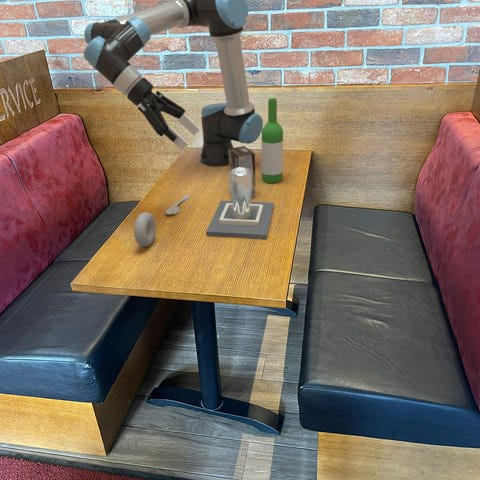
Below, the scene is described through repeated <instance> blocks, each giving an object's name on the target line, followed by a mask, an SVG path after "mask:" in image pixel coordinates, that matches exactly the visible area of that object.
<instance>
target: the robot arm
mask: <svg viewBox="0 0 480 480" xmlns="http://www.w3.org/2000/svg"><path fill="white" fill-rule="evenodd" d="M248 15H249V8H248V3H247V0H170V1H169V2H167V3H164V4H163V3H162V4H160V5H156V6H153V7H150V8H147V9H143V10H139V11H136V12H132V13H129V14H126V15H123V16H120V17H119V16H118V17H116V18H112V19H110V20H106V21H103V22H99V21H96V22H91V23H89V24H88V25H86V26H85V29H84V32H83V33H84V35H83V36H84V40H85V43H86V44H87V45H86V47H85V48H84V50H83V57H84V59H85V61H87V62H88V64H89V65H90V66H91V67H92V68H93V69H94V70H95V71H97V72H98V73H99V74H100V75H101V76H103V77H104V78H105V79H106V80H107V81H108V82H109V83H110V84H111V85H113V87H115V88H116V90H117V92H120V93H121V94H123V95H124V96H126V98H127V100H129V102H131V103H132V104H133V105H134V106H138V107H137V110H138V111H139V112H140V113H141V114H142V115H143V116H144V117H145V118H146V120H147V122H148V123H149V125H150V126H151V127H152V129H153V130H154V131H155V134H157V135H158V136H160V137H163V136H165V137H167V139H168V140H170V141H171V142H172V143H173V144H174V145H175V146H176V147H177V148H179V150H180V151H183V150H184V149H185V148H186V147H187V146H188V145H189V142H188V141H187V140H186V139H185V138H184V137H183V136H181V135H180V134H179V133H178V132H177V131H176V130H175V129H174V128H173V127H169V125H168V124H167V122H166V120H165V118H164V115H163V114H162V112H163V113H164V114H167V115H168V116H171V117H174V118H176V119H178V120H177V121H178V122H179V123H180V124H181V125H182V126H183V127H184V128H185V129H187V131H188V132H190V134H192V135H193V136H195V135H196V134H197V133H199V131H200V130H202V140H203V141H202V142H203V143H202V147H201V152H200V163H202V164H203V165H206V166H210V167H211V166H212V167H220V166H221V167H222V166H227V165H228V166H229V149H231V148H235V147H234V146H233V142H238V143H241V144H250V145H251V144H252V143H254V142H256V141H257V140H258V139H259V137H260V136H261V134H262V129H263V127H264V120H263V118H262V115H260V114H259V113H257V112H256V109H255V104H254V103H252V102H251V101H250V95H249V89H248V82H247V76H246V69H245V63H244V54H243V48H242V42H241V41H242V40H241V34H242V33H243V31H244V25H245V24H246V23H247V21H248V18H247V17H248ZM187 27H205V28H208V31H209V36H210V38H212V39H213V40H214V42H215V46H216V52H217V57H218V63H219V68H220V74H221V79H222V84H223V91H224V95H225V101H226V102H219V103H214V104H213V103H212V104H207V105H205V106H203V107H202V109H201V111H200V112H201V117H200V118H201V128H202V129H201V128H200V127H199V126H198V125H197V124H196V123H194V121H193V120H192V119H190V118H189V117H188V116H187V114H185V113H186V110H185V109H184V108H183V107H182V106H180V105H179V104H178V103H176V102H175V101H173V100H171V99H170V98H169V97H167V96H165V95H164V94H163V93H162V92H161V91H159V90H156V92H155V93H154V92H153V91H152V90H153V89H154V85H153V84H152V83H151V82H150V81H149V80H148V79H147V78H146V77H143V74H141V73H140V72H139V71H138V70H137V69H136V68H135V67H134V66H133V64H131V63H130V62H129V61H130V60H131V59H132V58H133V57H134V56H135V55H136V54H137V53H138V52H139V51H140V50H141V49H143V48H144V47H145V45H146V44H147V43H148V42H149V41H150V39H151V36H153V35H156V34H159V33H162V32H165V31H168V30H170V29H171V30H172V29H174V28H180V29H185V28H187ZM232 141H233V142H232Z"/></svg>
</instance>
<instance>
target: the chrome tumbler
mask: <svg viewBox="0 0 480 480" xmlns="http://www.w3.org/2000/svg"><path fill="white" fill-rule="evenodd" d="M228 184H229V185H228V186H229V193H230V198H231V201H232V202H233V213H232V217H233V218H234V219H242V220H246V219H249V218H250V217H251V210H250V202H251V199H252V198H251V194H252V174H251V170H250V169H249V168H245V167H238V168H233V169H231V170H230V169H229V183H228Z"/></svg>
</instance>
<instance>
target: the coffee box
mask: <svg viewBox="0 0 480 480" xmlns="http://www.w3.org/2000/svg"><path fill="white" fill-rule="evenodd" d="M255 155H256V154H255V152H253V151H252V150H250V148H248V147H246V146H245V145H243V146H237V147H234V148H231V149H229V164H228V166H229V171H230V170H231V169H233V168H238V167H245V168H249V169H250V170H251V174H252V194H251V199H255V198H256V158H255V157H256V156H255Z"/></svg>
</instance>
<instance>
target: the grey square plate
mask: <svg viewBox="0 0 480 480" xmlns="http://www.w3.org/2000/svg"><path fill="white" fill-rule="evenodd" d="M274 207H275V203H274V202H268V201H267V202H266V201H265V202H263V201H262V202H261V201H250V210H251V217H250V218H249V219H246V220H242V219H234V218H233V217H232V213H233V202H232V200H222V199H221V200H220V201H219V203H218V206H217V207H216V210H215V212H214V214H213V217H212V218H211V219H210V220H211V221H210V223H209V225H208V227H207V228H206V231H205V236H207V237H219V238H235V239H237V238H238V239H251V240H252V239H254V240H257V239H258V240H267V238H268V233H269V229H270V225H271V221H272V217H273V213H274V209H275V208H274Z"/></svg>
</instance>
